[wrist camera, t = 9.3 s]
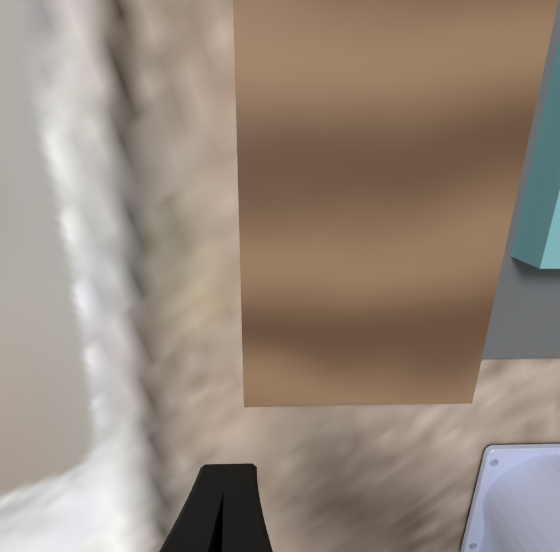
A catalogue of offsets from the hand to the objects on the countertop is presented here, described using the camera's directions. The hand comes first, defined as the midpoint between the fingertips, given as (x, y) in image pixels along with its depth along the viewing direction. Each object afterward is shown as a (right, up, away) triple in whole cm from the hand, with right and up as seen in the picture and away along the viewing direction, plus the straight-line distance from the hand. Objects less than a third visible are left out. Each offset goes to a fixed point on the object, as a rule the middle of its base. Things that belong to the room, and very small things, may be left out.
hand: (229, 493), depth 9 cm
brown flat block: (+5, +11, +7) cm, 14 cm away
